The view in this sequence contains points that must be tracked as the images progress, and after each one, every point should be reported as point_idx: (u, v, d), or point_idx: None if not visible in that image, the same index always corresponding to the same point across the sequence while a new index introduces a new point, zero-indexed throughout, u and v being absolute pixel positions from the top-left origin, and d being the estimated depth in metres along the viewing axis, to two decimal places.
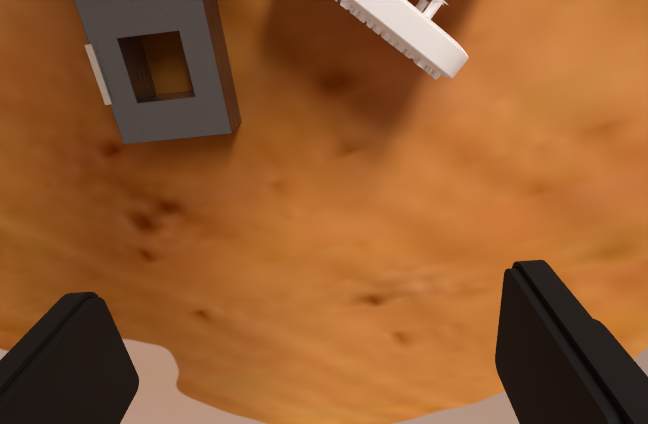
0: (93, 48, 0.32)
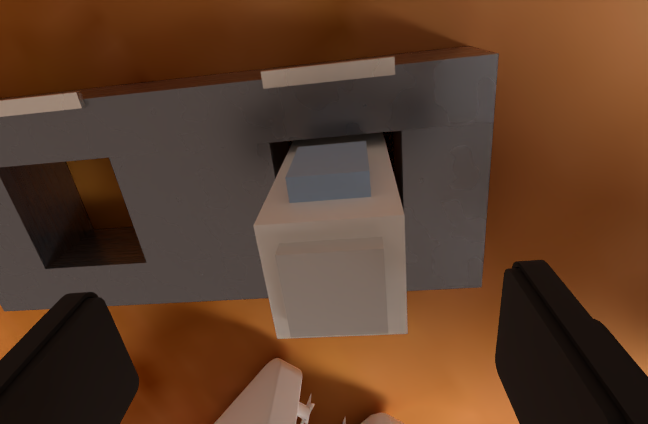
0: (74, 108, 0.16)
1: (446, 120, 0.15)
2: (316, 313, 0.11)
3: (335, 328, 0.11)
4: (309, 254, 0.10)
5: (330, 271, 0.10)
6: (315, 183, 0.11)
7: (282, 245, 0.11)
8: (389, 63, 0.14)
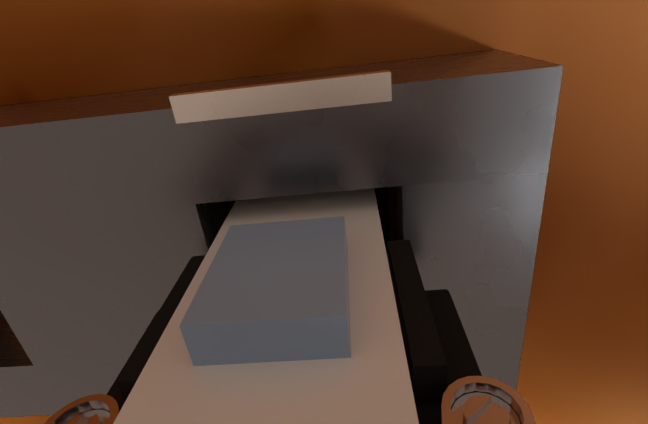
0: None
1: (473, 170, 0.09)
2: None
3: None
4: None
5: None
6: (240, 335, 0.06)
7: None
8: (382, 82, 0.08)
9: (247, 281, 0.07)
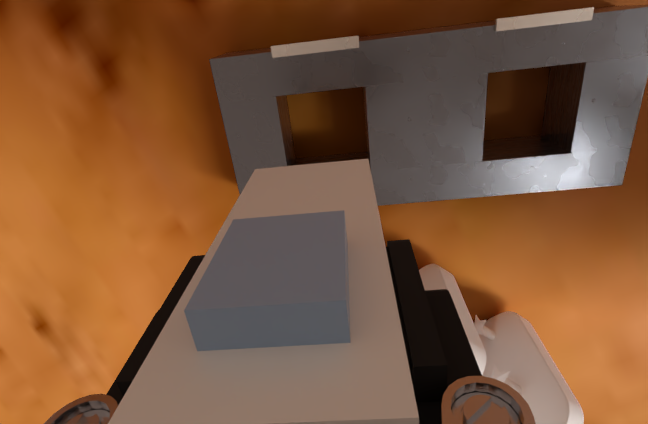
0: (352, 48, 0.22)
1: (619, 54, 0.21)
2: None
3: None
4: None
5: None
6: (242, 320, 0.06)
7: None
8: (589, 12, 0.20)
9: (250, 270, 0.07)
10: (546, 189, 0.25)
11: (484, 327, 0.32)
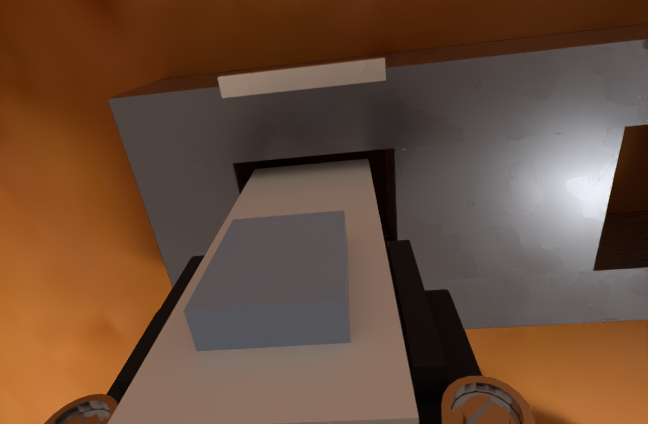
0: (372, 81, 0.11)
1: None
2: None
3: None
4: None
5: None
6: (242, 320, 0.06)
7: None
8: None
9: (249, 270, 0.07)
10: None
11: None
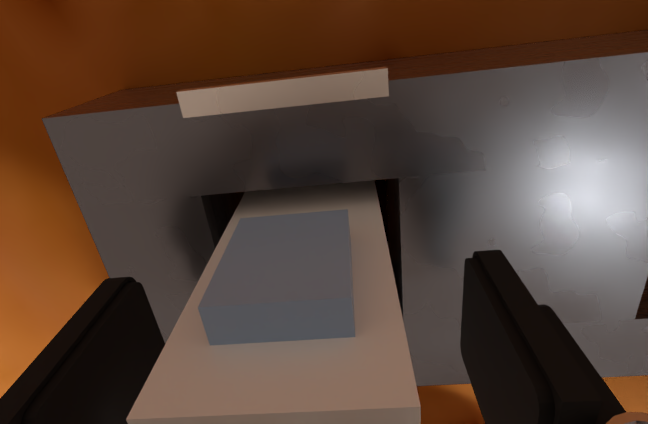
0: (372, 97, 0.09)
1: None
2: None
3: None
4: None
5: None
6: (253, 316, 0.06)
7: None
8: None
9: (258, 268, 0.07)
10: None
11: None
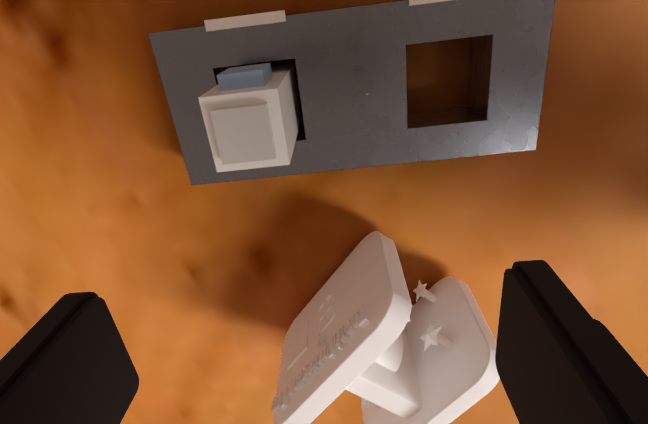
0: (280, 22, 0.24)
1: (522, 26, 0.24)
2: (235, 147, 0.20)
3: (246, 157, 0.21)
4: (228, 110, 0.20)
5: (240, 119, 0.20)
6: (233, 78, 0.21)
7: (215, 109, 0.20)
8: None
9: (235, 70, 0.21)
10: (468, 154, 0.27)
11: (426, 290, 0.35)
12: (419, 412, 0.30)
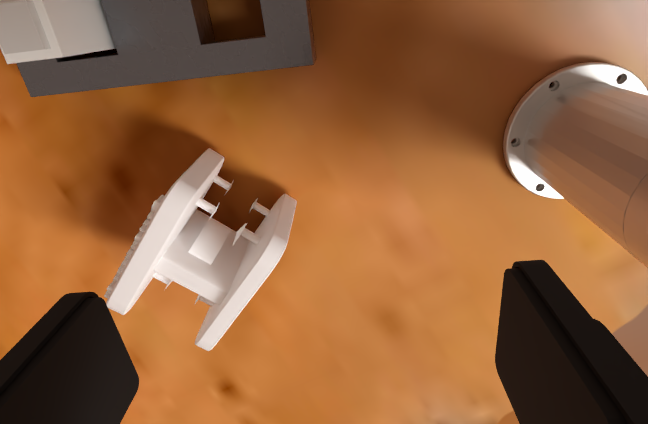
0: None
1: None
2: (11, 38, 0.25)
3: (22, 47, 0.26)
4: None
5: (9, 13, 0.25)
6: None
7: None
8: None
9: None
10: (257, 69, 0.32)
11: (259, 205, 0.39)
12: (225, 296, 0.34)
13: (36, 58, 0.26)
